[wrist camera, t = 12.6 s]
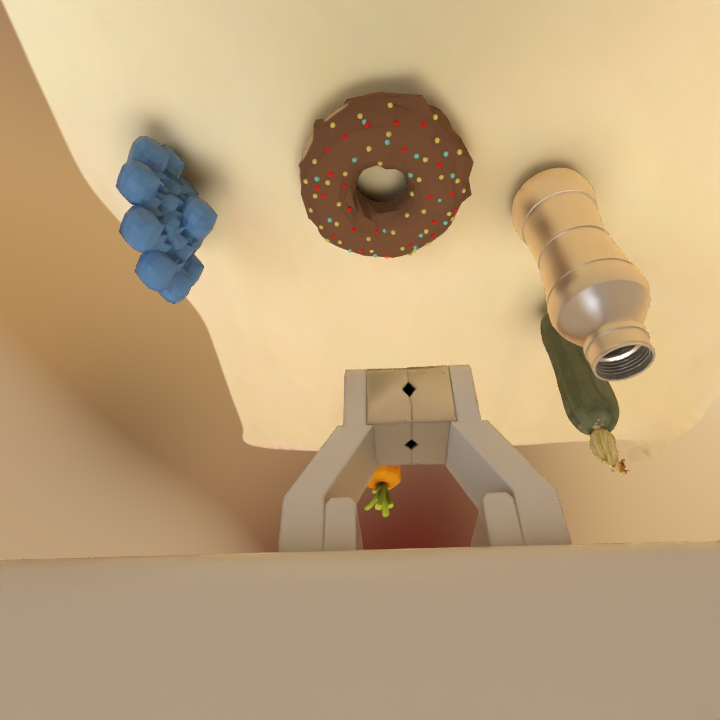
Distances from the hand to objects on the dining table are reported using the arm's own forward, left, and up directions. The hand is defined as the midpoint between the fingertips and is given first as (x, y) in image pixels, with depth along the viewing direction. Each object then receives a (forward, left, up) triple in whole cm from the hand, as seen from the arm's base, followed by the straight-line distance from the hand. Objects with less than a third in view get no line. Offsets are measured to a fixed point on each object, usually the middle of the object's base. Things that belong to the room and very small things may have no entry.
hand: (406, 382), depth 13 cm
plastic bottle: (+6, +20, -33) cm, 39 cm away
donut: (+10, +6, -33) cm, 35 cm away
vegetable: (+16, +30, -33) cm, 48 cm away
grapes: (+19, -8, -33) cm, 39 cm away
